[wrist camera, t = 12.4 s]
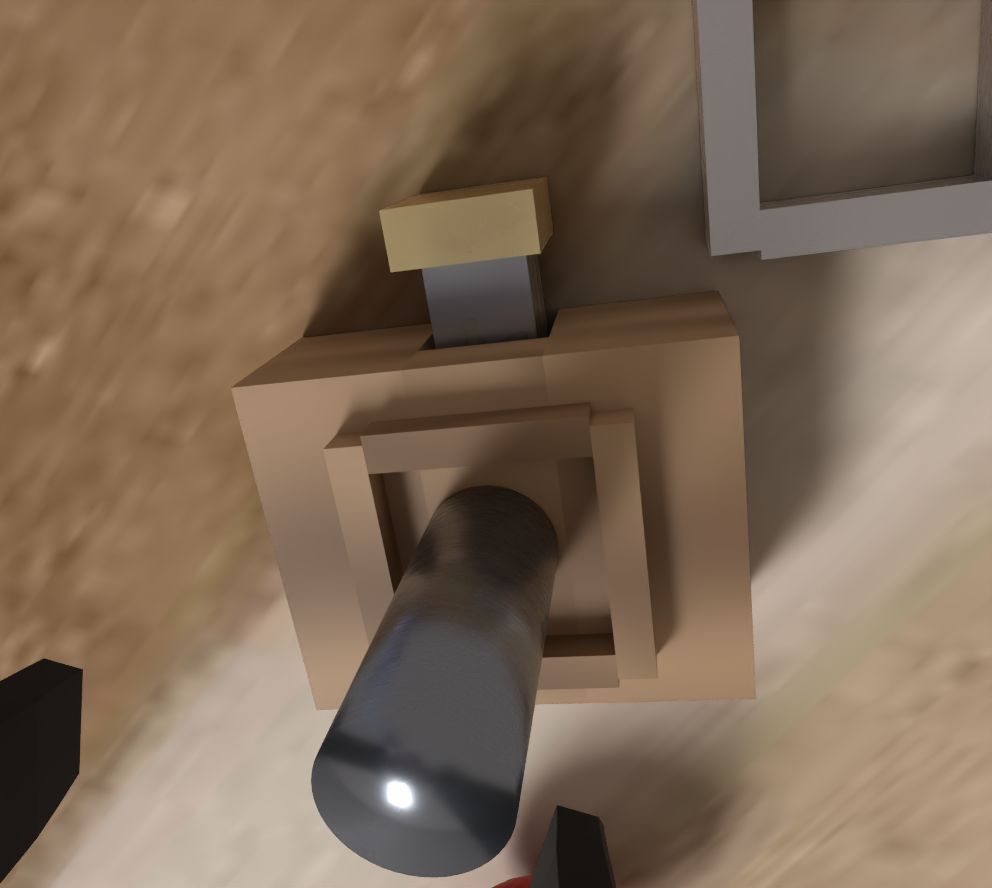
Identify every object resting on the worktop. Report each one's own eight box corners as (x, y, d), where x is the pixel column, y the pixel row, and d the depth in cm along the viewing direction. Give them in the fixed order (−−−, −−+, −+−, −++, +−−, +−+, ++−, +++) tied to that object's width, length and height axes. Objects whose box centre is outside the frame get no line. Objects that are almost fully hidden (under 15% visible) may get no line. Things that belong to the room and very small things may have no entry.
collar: (688, -73, 17) (692, -85, 15) (1048, -142, 15) (1081, -161, 14) (706, 256, 19) (711, 266, 18) (1023, 218, 18) (1049, 225, 16)
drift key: (415, 195, 19) (378, 210, 16) (546, 176, 19) (532, 188, 16) (476, 554, 22) (455, 618, 20) (591, 548, 22) (585, 612, 19)
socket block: (301, 338, 21) (212, 400, 16) (717, 291, 19) (744, 347, 15) (365, 615, 24) (304, 732, 19) (734, 598, 22) (761, 724, 17)
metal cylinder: (439, 470, 17) (325, 688, 11) (573, 505, 17) (539, 747, 11) (415, 584, 18) (299, 844, 12) (541, 618, 18) (492, 899, 12)
